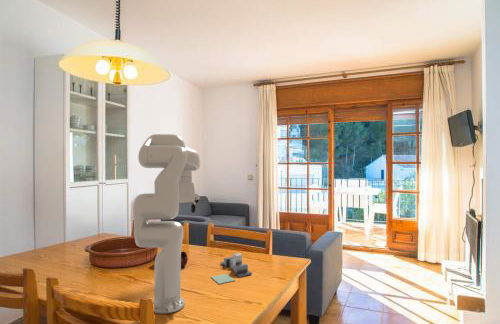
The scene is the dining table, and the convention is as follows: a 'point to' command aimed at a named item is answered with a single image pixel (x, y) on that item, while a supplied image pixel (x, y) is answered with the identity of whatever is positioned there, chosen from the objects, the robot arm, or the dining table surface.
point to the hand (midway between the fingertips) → (184, 213)
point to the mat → (222, 278)
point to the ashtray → (183, 259)
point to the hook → (235, 261)
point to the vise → (237, 268)
